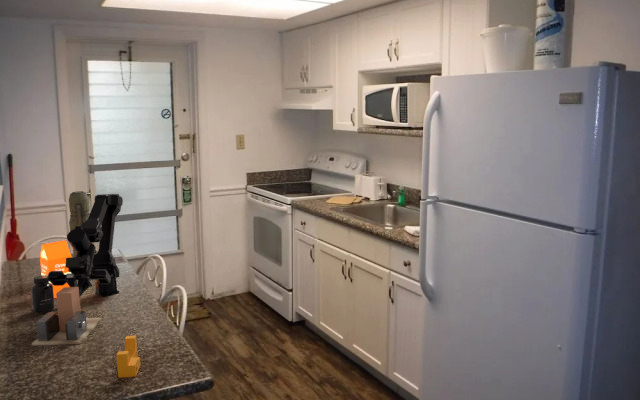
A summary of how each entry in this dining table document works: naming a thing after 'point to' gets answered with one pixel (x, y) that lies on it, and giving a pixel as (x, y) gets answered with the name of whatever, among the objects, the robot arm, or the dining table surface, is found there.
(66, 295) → the peg post
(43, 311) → the supplement bottle
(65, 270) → the orange juice
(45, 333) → the band block
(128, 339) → the orange stepped block
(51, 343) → the base board
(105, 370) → the dining table surface
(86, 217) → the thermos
